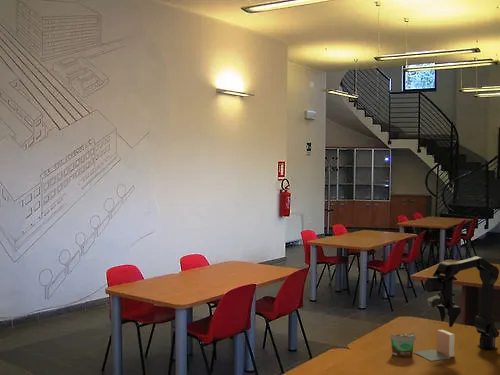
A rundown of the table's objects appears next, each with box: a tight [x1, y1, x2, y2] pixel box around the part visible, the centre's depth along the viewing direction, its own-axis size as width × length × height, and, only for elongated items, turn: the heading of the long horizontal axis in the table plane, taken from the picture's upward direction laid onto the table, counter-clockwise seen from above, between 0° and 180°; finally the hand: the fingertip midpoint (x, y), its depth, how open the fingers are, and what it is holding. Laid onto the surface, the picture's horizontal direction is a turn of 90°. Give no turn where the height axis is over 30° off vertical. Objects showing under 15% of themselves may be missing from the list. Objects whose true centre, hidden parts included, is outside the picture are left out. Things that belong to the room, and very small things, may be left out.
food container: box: [389, 331, 416, 359], centre depth 246 cm, size 12×6×10 cm, turn 105°
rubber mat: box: [413, 349, 451, 362], centre depth 248 cm, size 11×12×1 cm
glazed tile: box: [436, 329, 455, 358], centre depth 250 cm, size 3×8×10 cm, turn 21°
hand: (446, 324), depth 250 cm, fingers open, 9 cm apart
